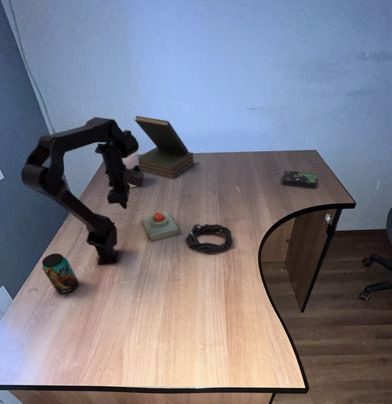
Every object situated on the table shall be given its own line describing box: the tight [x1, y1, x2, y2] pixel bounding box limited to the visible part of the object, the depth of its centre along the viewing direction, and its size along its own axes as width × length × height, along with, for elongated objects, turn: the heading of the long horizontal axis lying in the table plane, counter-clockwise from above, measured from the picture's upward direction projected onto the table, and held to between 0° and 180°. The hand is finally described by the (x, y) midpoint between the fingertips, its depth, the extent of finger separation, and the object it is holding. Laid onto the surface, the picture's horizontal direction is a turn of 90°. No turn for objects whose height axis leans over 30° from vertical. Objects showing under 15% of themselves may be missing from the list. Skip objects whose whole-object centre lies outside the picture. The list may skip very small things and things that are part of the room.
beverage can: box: [41, 252, 80, 295], centre depth 81 cm, size 7×7×12 cm
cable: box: [185, 223, 233, 254], centre depth 97 cm, size 17×14×4 cm
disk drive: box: [281, 170, 317, 189], centre depth 128 cm, size 10×3×15 cm
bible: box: [134, 115, 194, 179], centre depth 136 cm, size 23×20×25 cm
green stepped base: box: [141, 210, 180, 241], centre depth 105 cm, size 14×11×4 cm
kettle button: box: [153, 212, 164, 222], centre depth 103 cm, size 4×4×2 cm
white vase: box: [122, 152, 139, 188], centre depth 127 cm, size 11×11×15 cm
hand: (125, 208), depth 94 cm, fingers closed
